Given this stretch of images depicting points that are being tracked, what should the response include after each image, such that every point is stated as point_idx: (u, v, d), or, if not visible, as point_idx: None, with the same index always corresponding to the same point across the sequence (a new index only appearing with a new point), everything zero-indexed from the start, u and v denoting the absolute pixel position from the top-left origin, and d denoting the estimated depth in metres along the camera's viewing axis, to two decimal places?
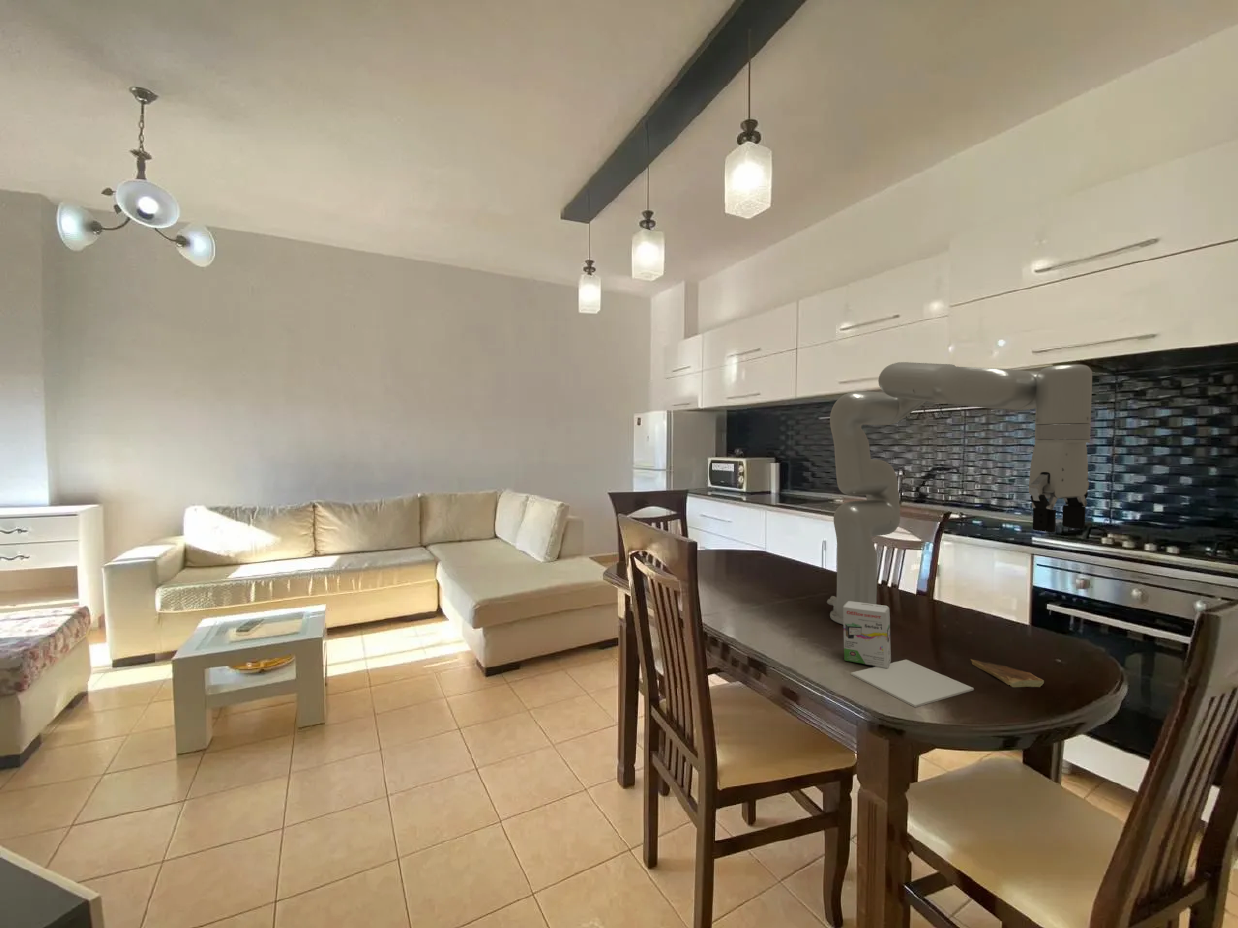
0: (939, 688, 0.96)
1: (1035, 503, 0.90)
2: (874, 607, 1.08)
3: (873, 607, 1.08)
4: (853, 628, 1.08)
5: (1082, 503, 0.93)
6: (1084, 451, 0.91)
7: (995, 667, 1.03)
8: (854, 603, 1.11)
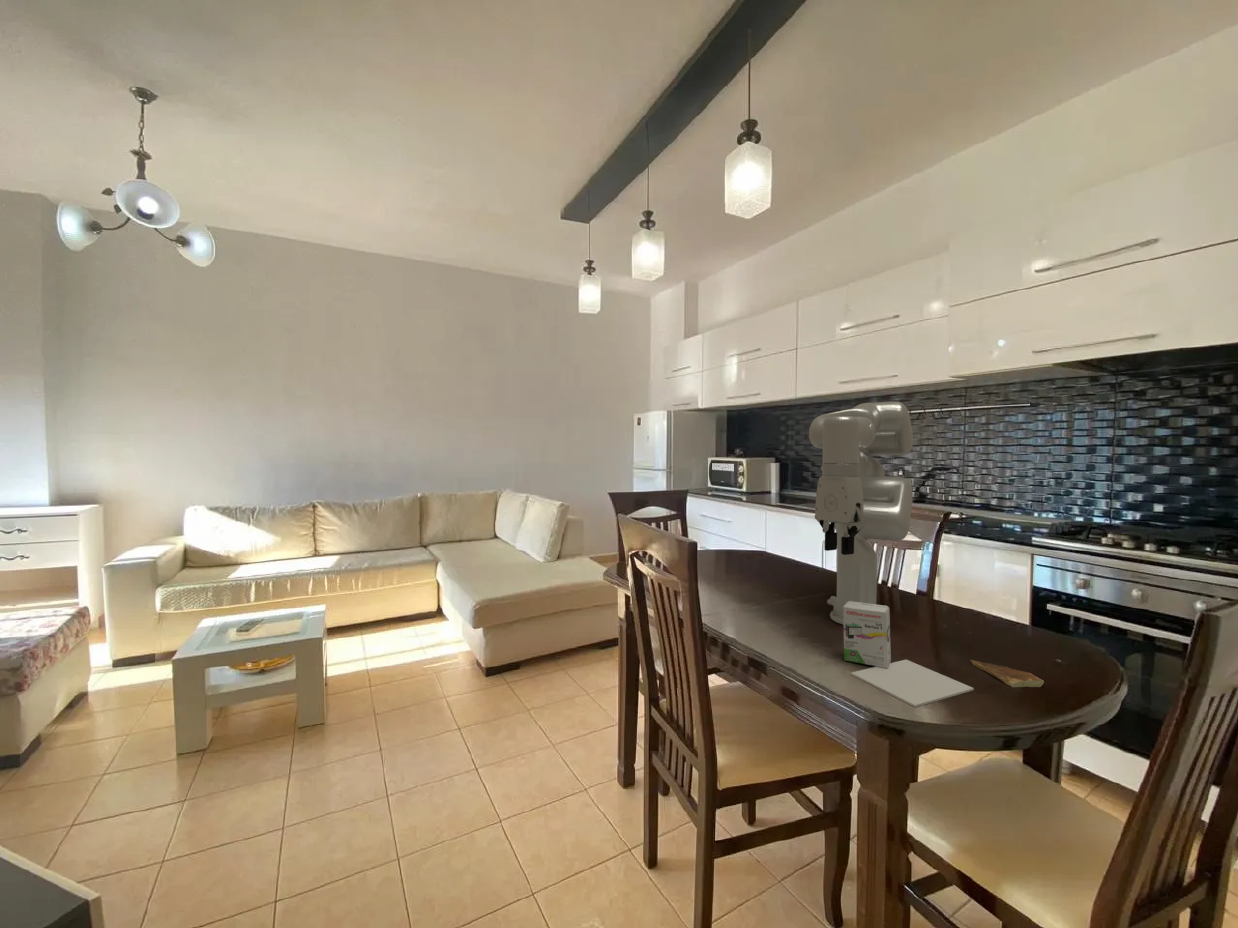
0: (939, 688, 0.96)
1: (853, 533, 1.11)
2: (874, 607, 1.08)
3: (873, 607, 1.08)
4: (853, 628, 1.08)
5: None
6: None
7: (995, 667, 1.03)
8: (854, 603, 1.11)
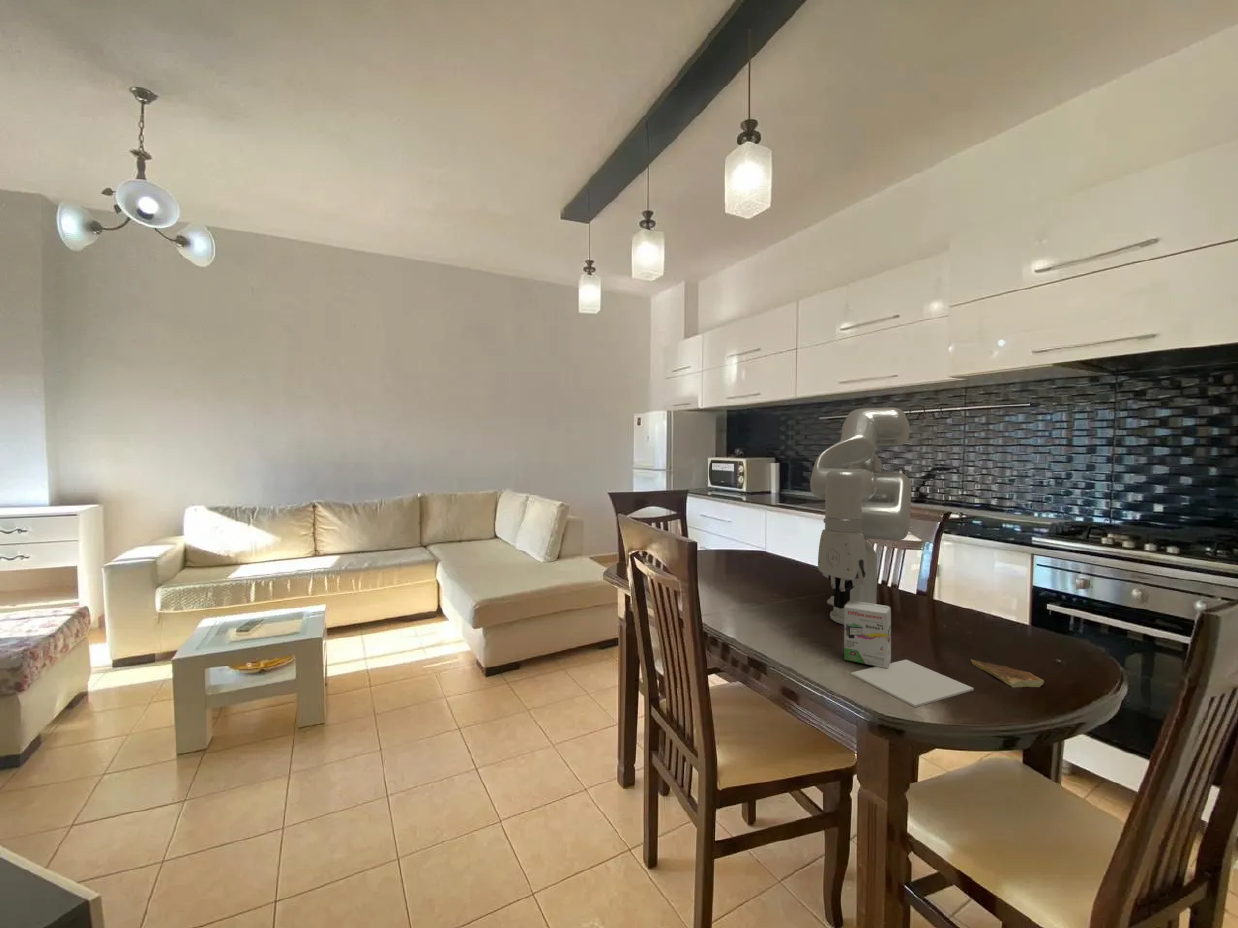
0: (939, 688, 0.96)
1: (849, 587, 1.12)
2: (875, 607, 1.07)
3: (874, 607, 1.07)
4: (854, 628, 1.08)
5: None
6: None
7: (995, 667, 1.03)
8: (856, 603, 1.10)
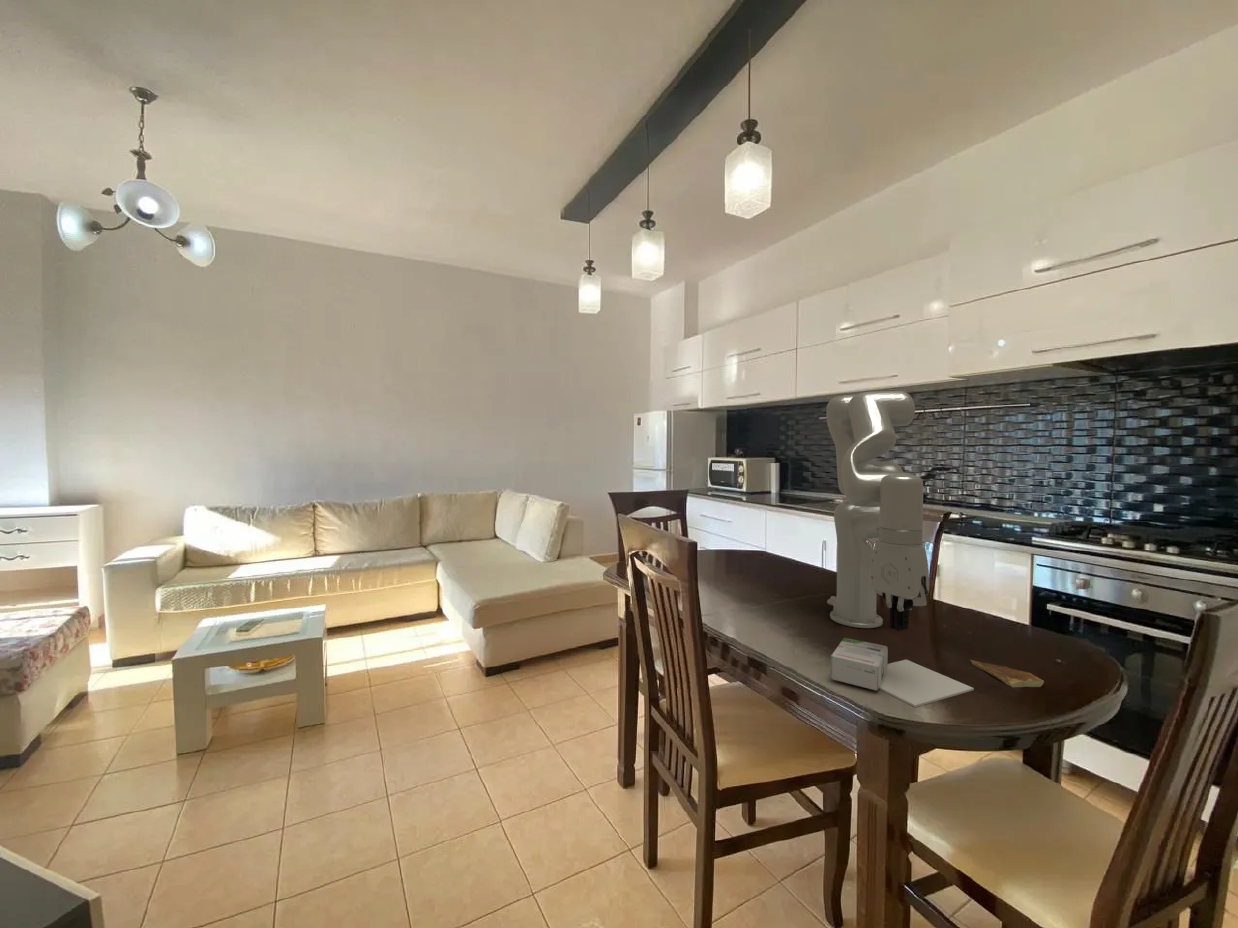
0: (939, 688, 0.96)
1: (908, 607, 0.99)
2: (863, 675, 0.96)
3: (862, 676, 0.96)
4: None
5: None
6: None
7: (995, 667, 1.03)
8: (841, 666, 0.98)
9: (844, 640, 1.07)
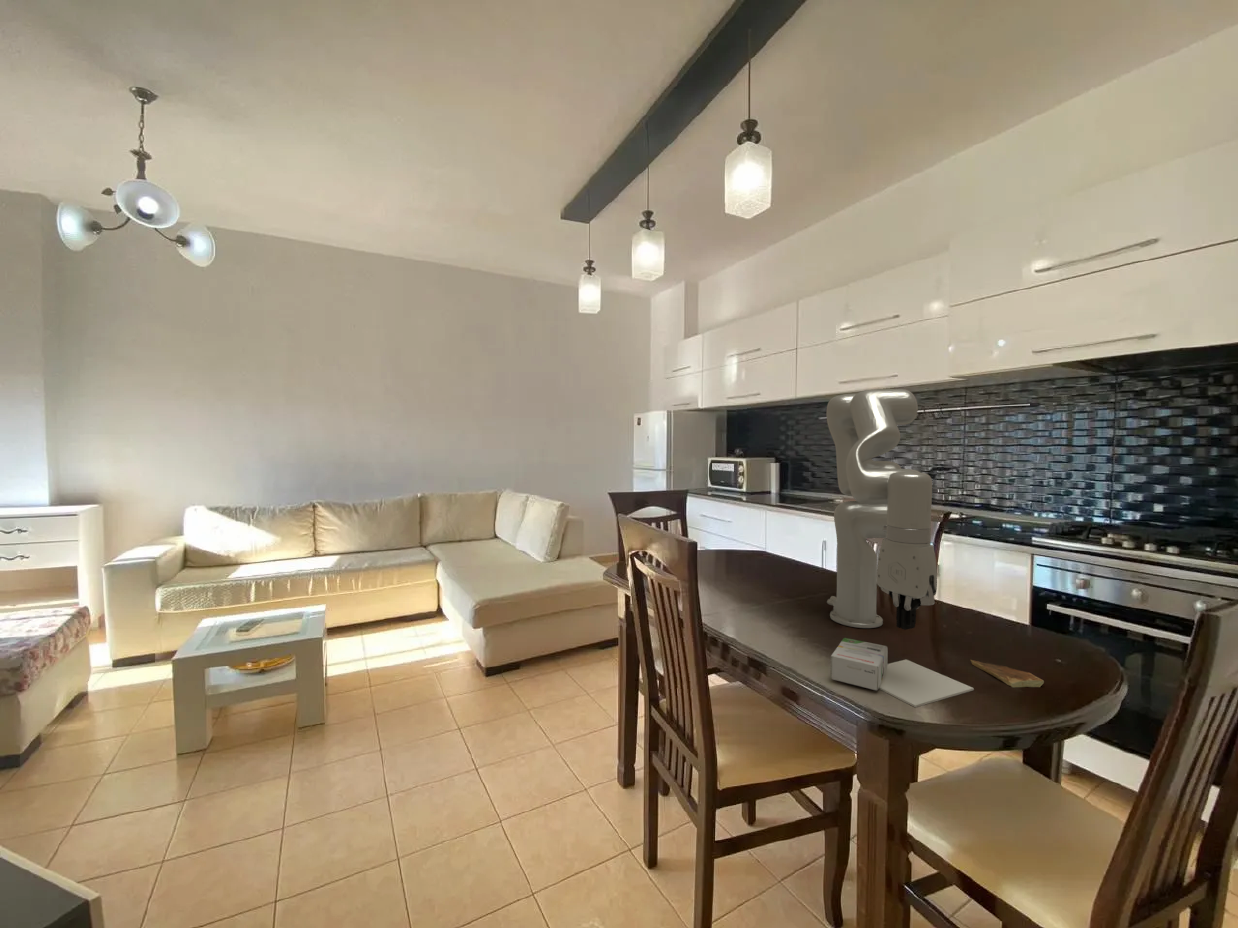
0: (939, 688, 0.96)
1: (916, 606, 0.98)
2: (863, 675, 0.96)
3: (862, 675, 0.96)
4: None
5: None
6: None
7: (995, 667, 1.03)
8: (841, 666, 0.98)
9: (844, 640, 1.07)
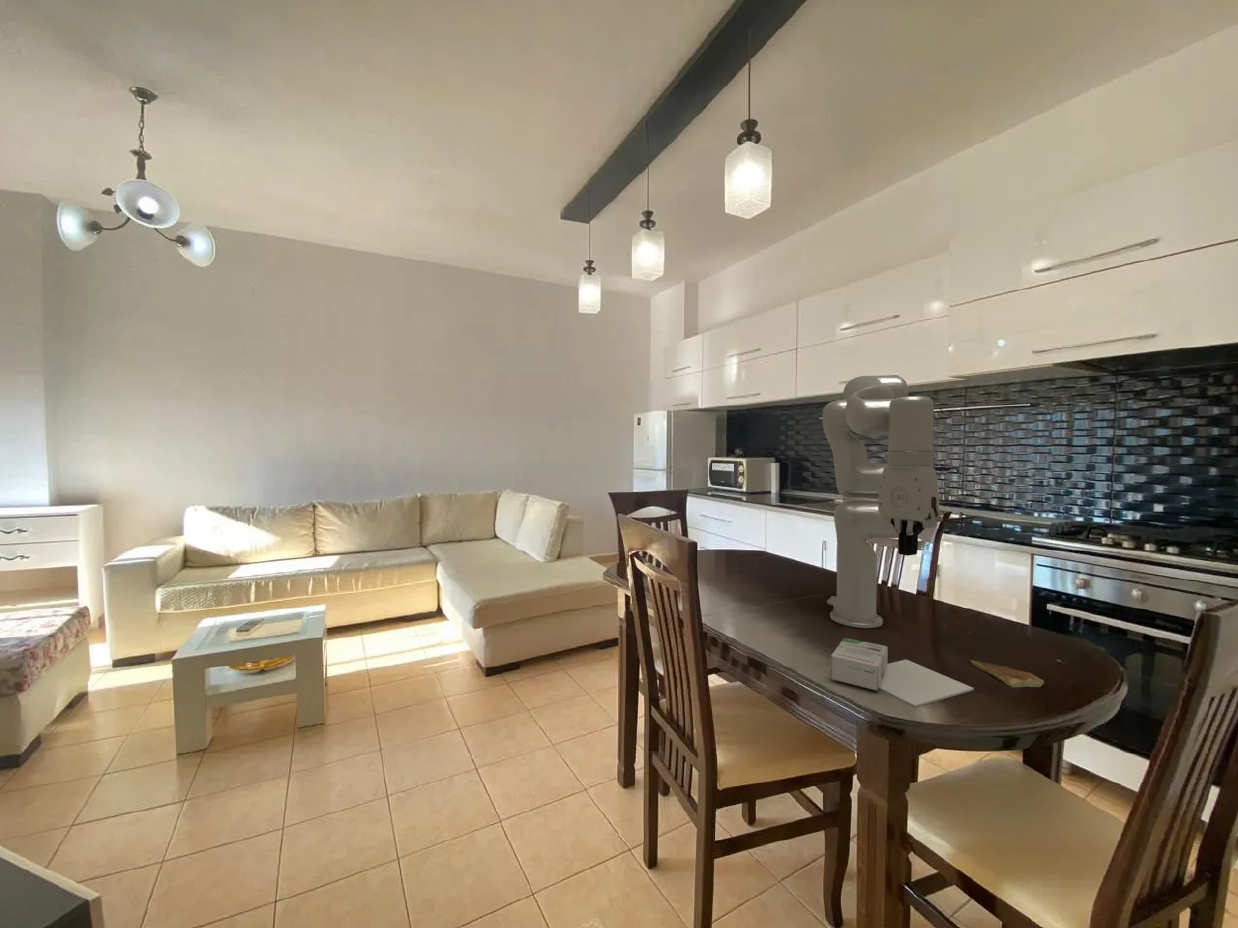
0: (939, 688, 0.96)
1: (918, 531, 0.97)
2: (863, 675, 0.96)
3: (862, 675, 0.96)
4: None
5: None
6: None
7: (995, 667, 1.03)
8: (841, 666, 0.98)
9: (844, 640, 1.07)
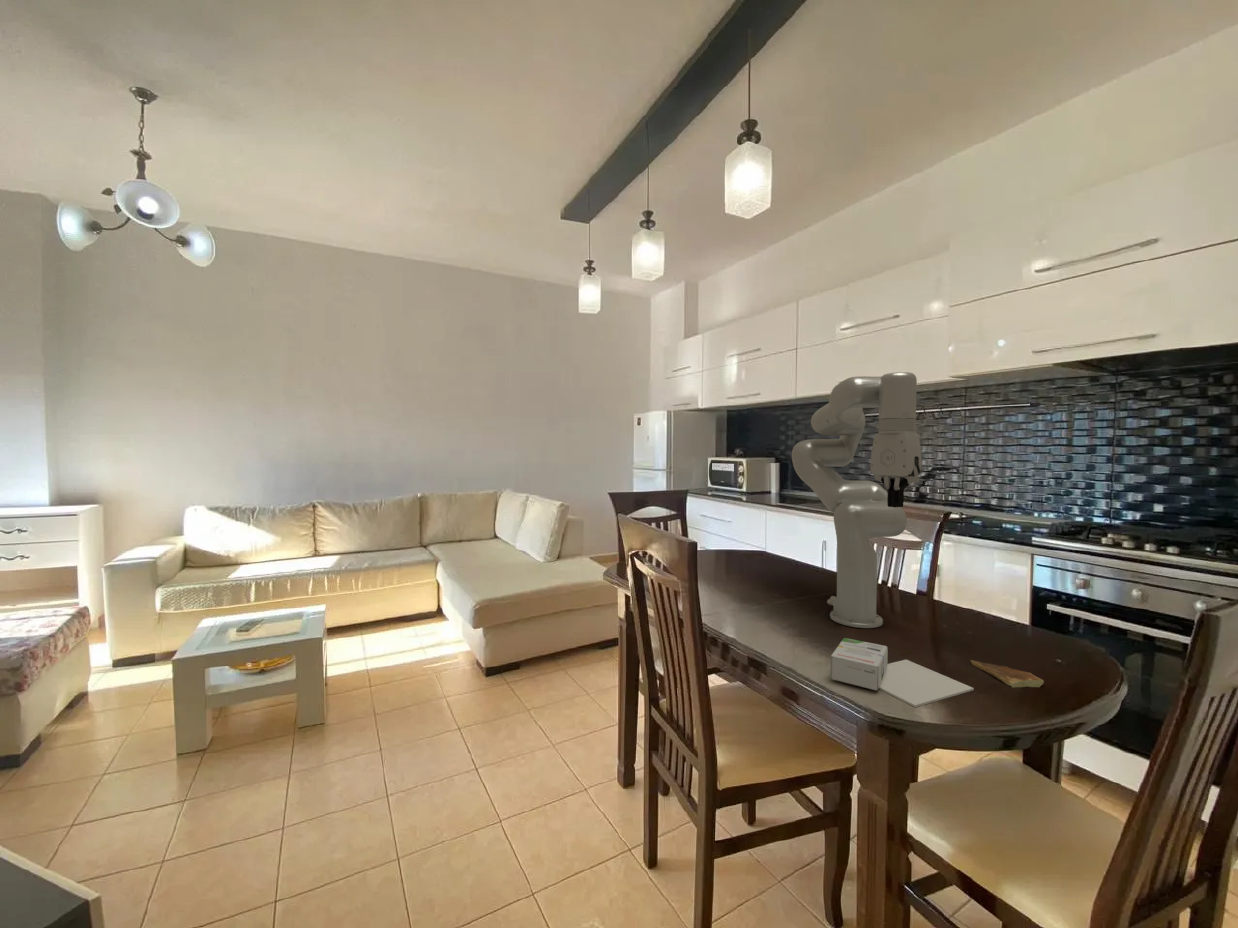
0: (939, 688, 0.96)
1: (903, 486, 1.15)
2: (863, 675, 0.96)
3: (862, 675, 0.96)
4: None
5: None
6: None
7: (995, 667, 1.03)
8: (841, 666, 0.98)
9: (844, 640, 1.07)
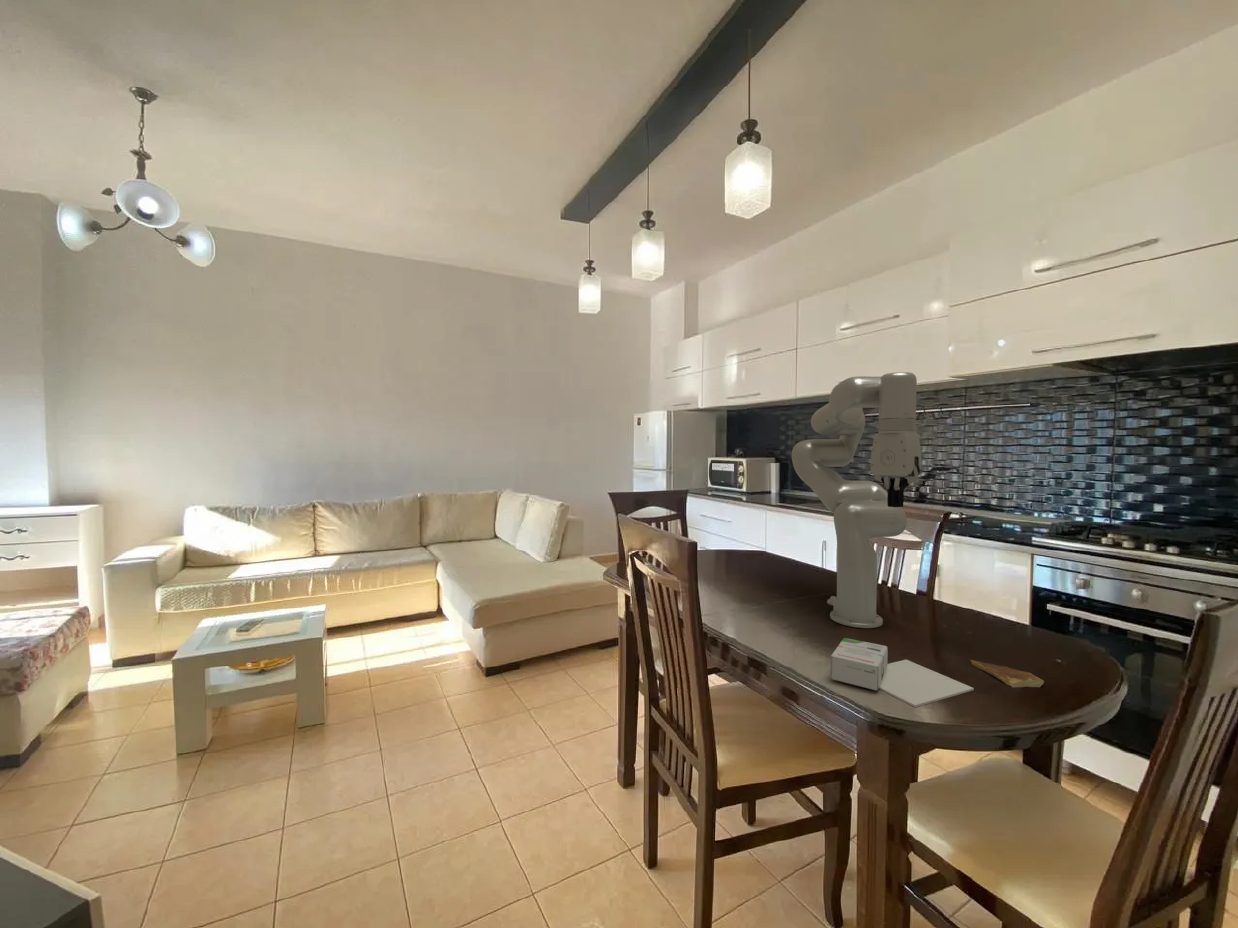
0: (939, 688, 0.96)
1: (903, 486, 1.15)
2: (863, 675, 0.96)
3: (862, 675, 0.96)
4: None
5: None
6: None
7: (995, 667, 1.03)
8: (841, 666, 0.98)
9: (844, 640, 1.07)
